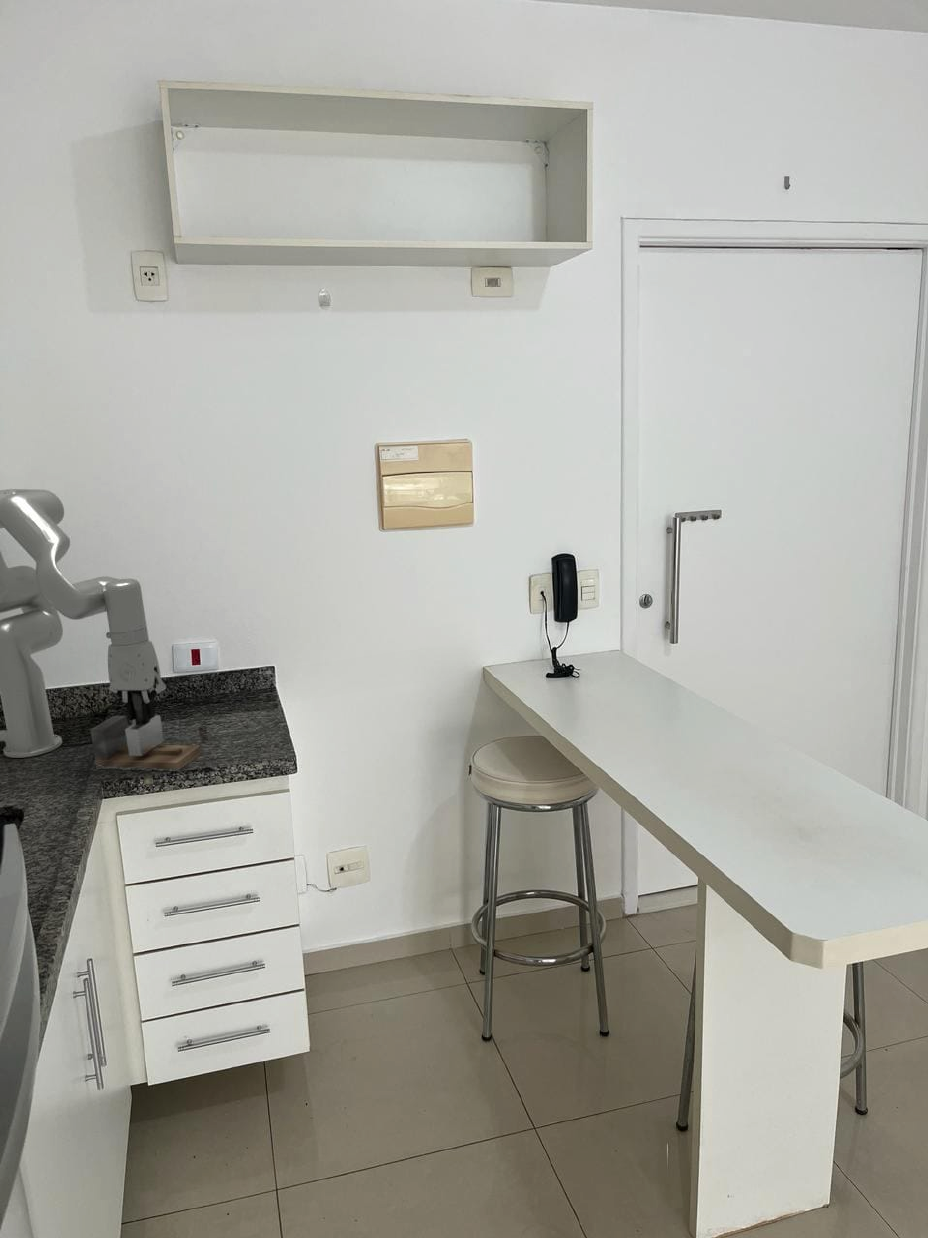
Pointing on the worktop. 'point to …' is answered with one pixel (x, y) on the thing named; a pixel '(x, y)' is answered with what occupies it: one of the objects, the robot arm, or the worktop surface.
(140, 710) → the sliding jaw
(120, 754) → the base
